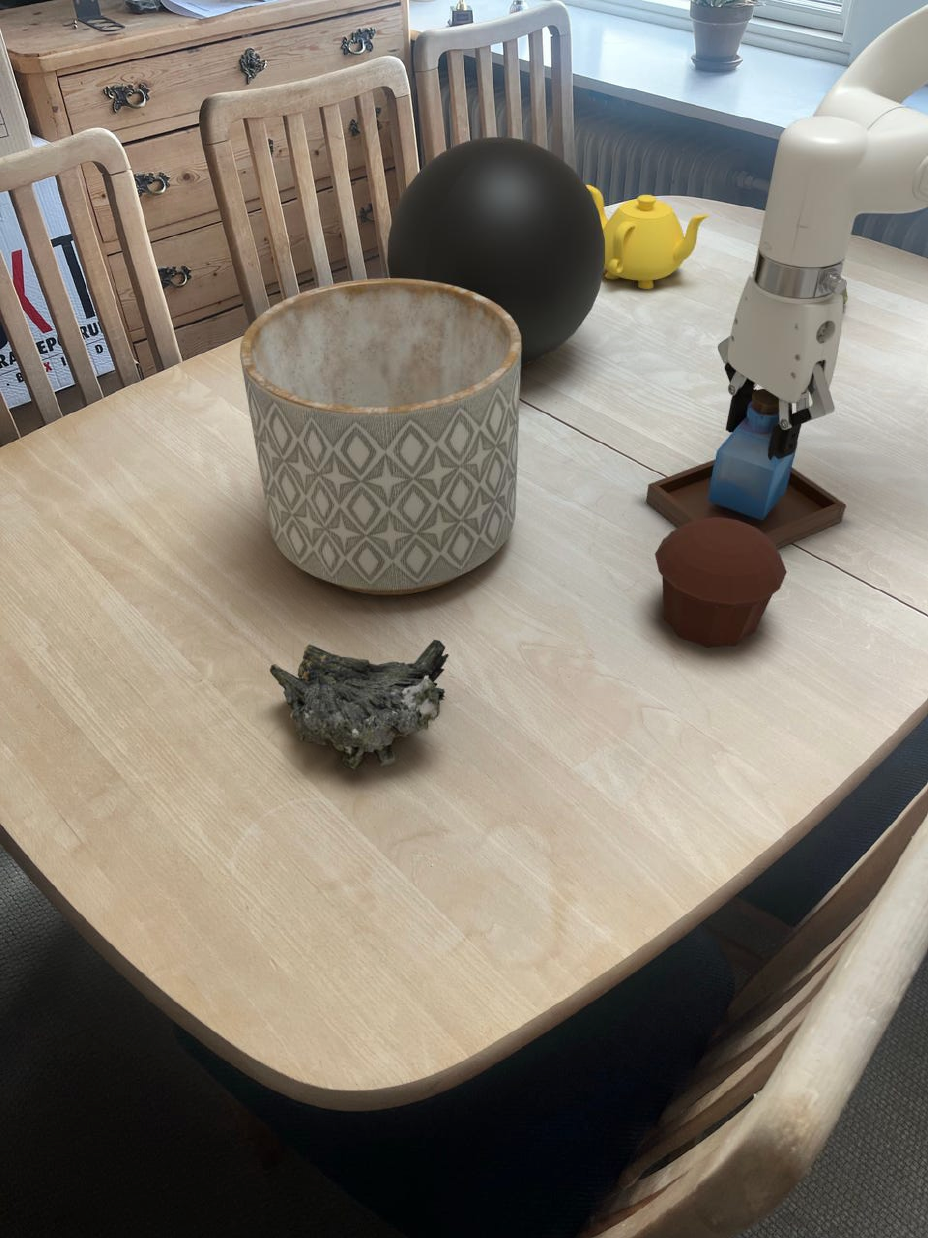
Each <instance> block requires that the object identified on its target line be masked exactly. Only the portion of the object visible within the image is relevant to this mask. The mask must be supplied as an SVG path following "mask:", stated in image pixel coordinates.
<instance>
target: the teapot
mask: <svg viewBox="0 0 928 1238" xmlns="http://www.w3.org/2000/svg"><path fill="white" fill-rule="evenodd" d="M585 186H586V187H587V188H588V190H589V191H590V193H591V195H592V197H593V199H594V202H595V204H596V206H597V208H598V211H599V214H600V219H601V223H602V228H603V233H604V237H605V266H604V269H605V270H606V271H607V272H606V273H605V276H604V277H605V278H606V279H608V280H619V279H620V278H622V279H626V280H632V281H637V287H638V288H640V289H643V290H650V289H653V288H654V280H659V279H664V278H666V277H669V276H670V275H672V273H674V272H675V271H676V270H677V269H678V268H679V267H681V265H683V262H684V261H685V260H687V259H688V258H689V257H690V256H691V255H692V253H693V252H694V250H695V248H696V245H697V238H698V230H699V227H700V225H701V223H702V222H703V221H704V220H706V219H707V218H708V217H710V214H697V215H695V216H693V217H692V218H691V219H690V220H689V222H688V225H687V228H686V231H685V234H684V230H683V228H682V225H681V223H680V221H679V219H678V217H677V215H676V213H675V211H674V209H673V208H672V206H670V205H669V204H668V203H665V202H664V201H660V200H657V197H656V196H655V195H651V194H641V195H639V196H638V197H637V198H636V199H631V200H627V201H624V202H623V203H621V204H620V205H619V206H618V207H617V209H615V211H614V212H613V214H611V216H610V217H609V218H608V217H607V215H606V212H605V202H604V196H603V194H602V193H601V191H600V190H599V189H598V188H596V187H594V186H592V185H590V184H585Z"/></svg>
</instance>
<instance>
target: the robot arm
mask: <svg viewBox="0 0 928 1238" xmlns="http://www.w3.org/2000/svg"><path fill="white" fill-rule="evenodd" d="M927 84H928V4H926V5H923V6H922V7H921V8H919V9H917V10H915V11H913V12H912V13H910V14H909V15H907V16H905V17H904V18H901V19H900V20H899V21H896V22H895V23H894V24H893V25H891V26H889V27H888V28H887V29H886V30H884V31H883V32H882V33H880V34H879V35H878V36H877V37H876V38H875V39H874V40H872V41H871V42H870V43H869V44H868V45H867V46H866V47H865V48H864V49H863V50H862V51H861V52H860V54H859V55H858V56H857V57H856V58H855V59H854V60H853V61H852V62H851V64H850V65H849V66H848V67H847V68H846V70H845V71H844V72H843V73H842V74H841V75H840V77H839V78H838V79H837V80H836V82H834V84H833V85H832V87H831V88H830V89H829V90H828V91H827V93H826V95H825V96H824V97H823V98H822V100H821V101H820V103H819V104H818V106H817V107H816V110H815V111H814V113H813V114H812V116H810V117H809V116H808V117H804V118H800V119H797V120H795V121H793V122H791V123H790V124H789V125H787V126H786V127H785V129H784V130H783V131H782V133H781V134H780V137H779V140H778V144H777V148H776V153H775V159H774V163H773V168H772V173H771V179H770V184H769V188H768V189H769V190H768V195H767V200H766V204H765V210H764V215H763V220H762V226H761V231H760V237H759V241H758V247H757V251H756V257H755V262H754V267H753V271H751V272H750V273H749V276H748V277H747V280H746V282H745V284H744V287H743V289H742V291H741V295H740V298H739V301H738V304H737V308H736V311H735V314H734V318H733V322H732V326H731V329H730V335H729V336H728V337H727V338H725V339H724V340H722V341H721V342H720V343H718V345H717V351H718V353H719V356H720V358H721V361H722V362H723V364H725V365H724V371H725V375H726V376H727V379H728V382H729V383H728V385H727V391H728V394H729V395H730V396H731V399H730V405H729V409H728V413H727V420H726V423H725V424H726V425H725V431H727V432H728V433H731V434H732V432H733V431H734V430H735V429H736V428H737V427H738V426H739V424H740V423H741V422H742V421H743V420H744V419H745V418H746V417H747V410H748V406H749V403H750V402H752V401H753V400H752V394H753V392H755V391H756V390H757V388H756V387H757V386H759V387H761V389H766V390H767V391H769V392H770V393H772V394H774V395H775V396H777V397H778V398H779V424H776V425H775V426H774V427H773V430H772V435H771V439H770V443H769V448H768V458H769V459H770V461H771V459H772V457H773V456H775V457H776V458H777V459H781V458H783V457H786V456H789V455H791V454H792V453H793V452H794V450H795V448H796V445H797V446H798V444H797V441H798V440H799V437H800V433H801V429H802V425H803V424H805V423H808V422H810V421H813V420H815V419H819V418H822V417H825V416H827V415H830V414H832V413H834V412H835V410H836V407H835V405H834V404H835V403H834V401H833V398H832V394H831V391H830V387H831V384H832V382H833V379H834V378H833V377H834V373H835V369H836V365H837V360H838V359H837V358H838V354H839V349H840V341H841V335H842V327H843V313H844V308H843V296H842V295H841V293H842V292H843V291H844V290H845V288H846V289H847V285H848V284H847V280H846V279H845V278H843V277H842V271H843V268H844V264H845V259H846V255H847V251H848V247H849V242H850V239H851V235H852V231H853V227H854V224H855V219H856V217H857V216H859V215H862V214H908V213H914V212H917V211H921V210H923V209H927V208H928V114H926V113H923V112H921V111H918V110H916V109H914V108H912V107H909V106H907V105H904V104H902V103H903V102H904V101H906V100H907V99H908V98H909V97H911V96H912V95H913V94H914V93H915V92H917V91H918V90H920V89H921V88H923V87H924V86H926V85H927ZM810 398H811V400H812V401H811V402H812V403H811V405H810ZM793 404H795V411H794V412H793ZM798 442H799V441H798ZM796 449H797V448H796Z"/></svg>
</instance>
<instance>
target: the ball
mask: <svg viewBox="0 0 928 1238" xmlns="http://www.w3.org/2000/svg"><path fill="white" fill-rule="evenodd" d="M395 201H398V198H397V197H396V198H395ZM386 255H387V256H386V257H387V259H386V263H387V269H388V275H389V278H403V279H417V280H426V281H432V282H439V283H444V284H448V285H452V286H457V287H460V288H463V289H466V290H469V291H472V292H475V293H477V294H479V295H481V296H483V297H485V298H488V299H489V300H491V301H492V302H494V303H496V304H497V305H499V306H500V307H501V308H503V309H504V310H505V311H506V312H507V313H508V314H509V315H510V316H511V317H512V319H513V320H514V321H515V323H516V324H517V326H518V329H519V332H520V334H521V367H522V366H526V365H528V364H531V363H534V362H535V361H538V360H539V359H541V358H543V357H545V356H547V355H550V354H551V353H553V352H554V351H556V350H557V349H559V348H560V347H561V346H562V345H564V343H566V342H567V341H568V340H569V339H570V338H571V337H572V336H573V335H575V334H576V332H577V331H578V329H579V328H580V327H581V326H582V324H583V322H584V321H585V320H586V318H587V317H588V315H589V314H590V312H591V311H592V309H593V306H594V304H595V302H596V299H597V297H598V294H599V292H600V289H601V286H602V281H603V275H604V270H605V267H604V266H605V237H604V233H603V228H602V223H601V219H600V214H599V211H598V208H597V206H596V204H595V202H594V199H593V197H592V195H591V193H590V191H589V190H588V188H587V187H586V184H585V183H584V181H583V180H582V179H581V177H580V176H579V174H577V172H576V171H575V170H574V169H573V168H572V166H570V165H569V164H568V163H567V162H566V161H564V160H563V159H562V158H561V157H560V156H558V155H557V154H555V153H554V152H552V151H550V150H549V149H546V148H544V147H543V146H540V145H538V144H537V143H534V142H532V141H528V140H525V139H521V138H516V137H515V138H514V137H507V136H505V137H503V136H492V137H481V138H475V139H474V138H473V139H469V140H466V141H464V142H461V143H459V144H457V145H455V146H453V147H451V148H449V149H447V150H444V151H442V152H441V153H439V154H438V155H437V156H436V157H434V158H433V159H432V160H431V161H430V162H428V163H427V164H425V166H423V167H422V168H421V169H420V170H419V171H418V172H417V174H416V175H415V176H414V178H413V179H412V180H411V182H410V183H409V184H408V185H407V187H406V188H405V190H404V191H403V193H402V195H401V197H400V199H399V202H398V204H397V206H396V208H395V210H394V211H393V216H392V220H391V224H390V228H389V232H388V240H387V254H386Z"/></svg>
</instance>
